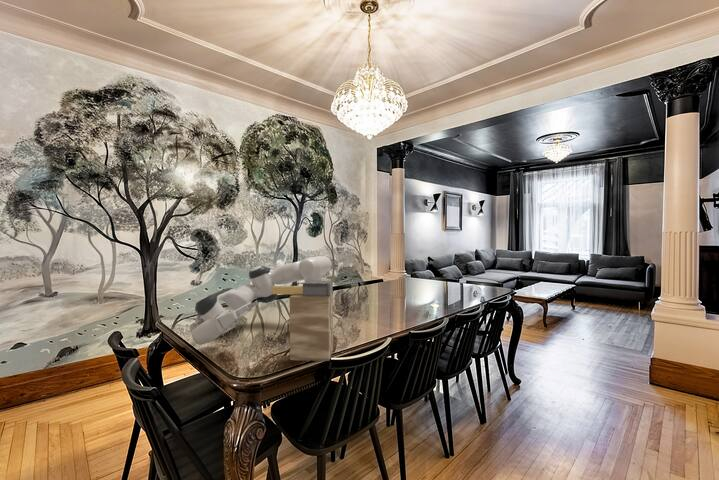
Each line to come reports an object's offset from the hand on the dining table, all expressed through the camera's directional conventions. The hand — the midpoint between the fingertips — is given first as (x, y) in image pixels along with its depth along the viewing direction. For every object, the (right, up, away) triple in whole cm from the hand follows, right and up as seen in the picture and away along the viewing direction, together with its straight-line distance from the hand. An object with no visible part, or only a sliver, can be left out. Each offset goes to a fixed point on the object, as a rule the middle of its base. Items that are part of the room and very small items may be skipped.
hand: (253, 304), depth 138 cm
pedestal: (+26, -21, -1) cm, 33 cm away
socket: (+28, +5, -2) cm, 29 cm away
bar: (+21, +5, -1) cm, 21 cm away
